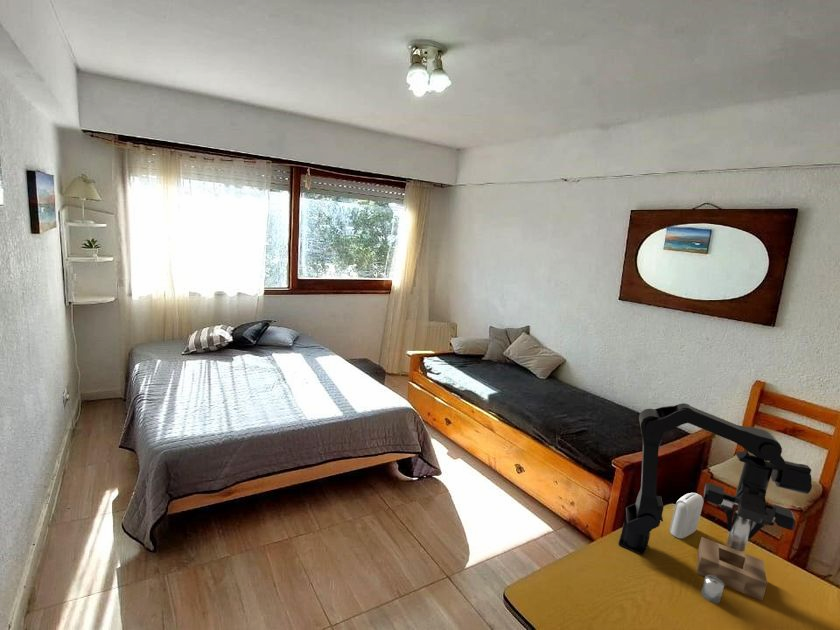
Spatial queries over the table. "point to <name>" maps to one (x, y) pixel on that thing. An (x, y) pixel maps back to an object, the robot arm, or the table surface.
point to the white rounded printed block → (686, 515)
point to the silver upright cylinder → (739, 532)
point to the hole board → (732, 568)
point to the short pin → (712, 588)
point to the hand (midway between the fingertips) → (738, 534)
